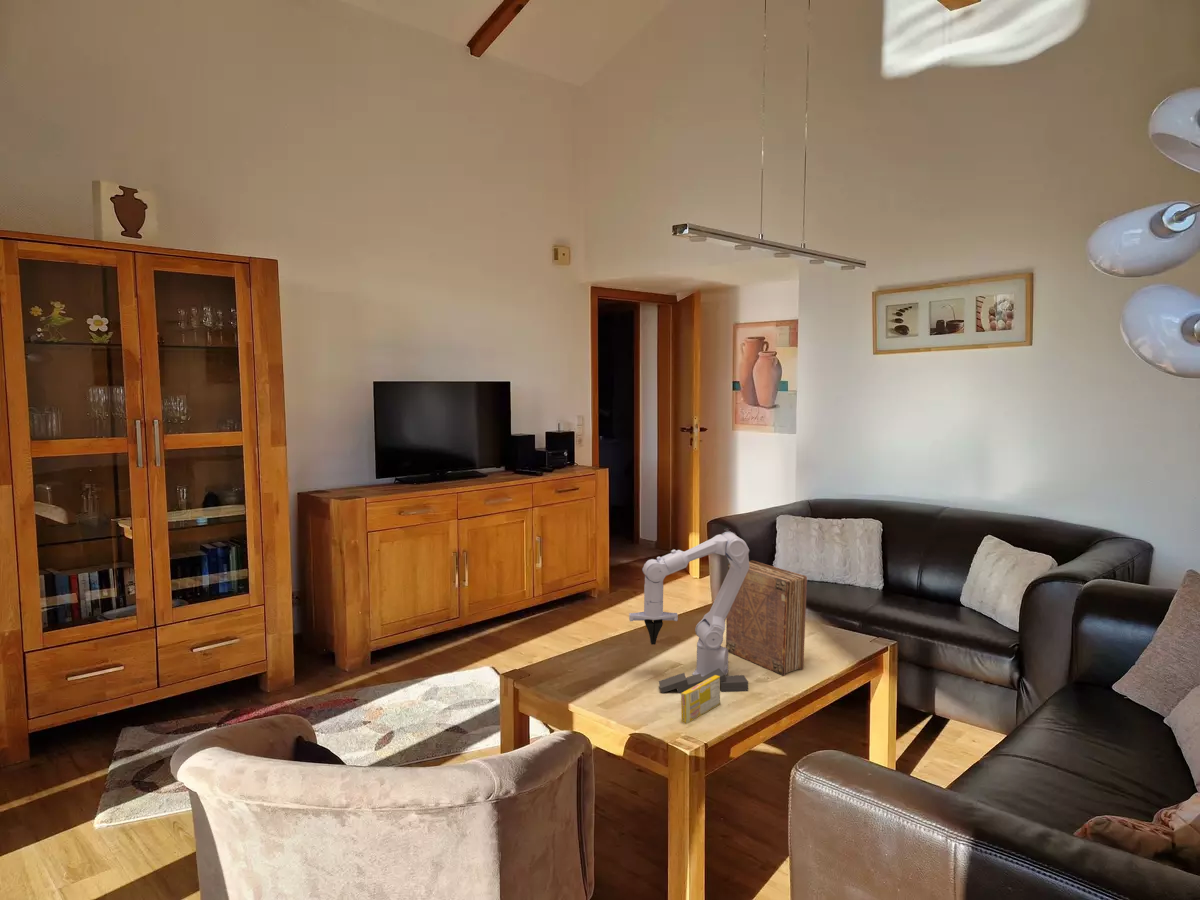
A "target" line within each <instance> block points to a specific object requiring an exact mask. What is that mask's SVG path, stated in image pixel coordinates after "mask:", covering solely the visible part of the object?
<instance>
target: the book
mask: <svg viewBox="0 0 1200 900" xmlns="http://www.w3.org/2000/svg"><path fill="white" fill-rule="evenodd" d="M730 566H731V565H730V563H729V562H728V563H727V572H728V571H729V569H730ZM807 582H808V577H807V575H804V574H800V573H797V572H794V571H790V570H787V569H782V568H780V567H776V566H773V565H769V564H765V563H763V562H759V561H756V560H751V559H749V570H748V572H747V574H746V576H745V578H744V581H743V583H742V585H741V587H740V589H739V591H738V593H737V596H736V598H735V600H734V602H733V604H732V606H731V608H730V611H729V613H728V615H727V617H726V623H725V630H726V631H725V632H726V633H725V636H726V637H725V648H728V654H729V653H730V654H732V655H734V656H736V657H739V658H741V659H743V660H745V661H748V662H750V663H752V664H754V665H756V666H760V667H761V668H763V669H766V670H768V671H770V672H772V673H775V674H777V675H779V676H782V677H785V675H786V673H790V672H793V671H797V670H801V671H802V670H804V666H805V665H804V664H805V662H804V661H805V639H806V638H805V637H806V615H807V614H806V612H807V610H806V608H807V585H808V583H807Z"/></svg>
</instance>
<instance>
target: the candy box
mask: <svg viewBox="0 0 1200 900" xmlns="http://www.w3.org/2000/svg"><path fill="white" fill-rule="evenodd" d="M680 695H681V698H680V699H681V700H680V702H681V707H680V708H681V710H680V711H681V719H680V720H681V722H682V723H684V724H688V723H690V722H692V721H693V720H695V719H697V718H699V717H701V716H702V715H704V714H706V713H707V712H709V711H711V710H712V709H714V708H716V707H718V706H719V705H721V691H720V676H717V675H714V676H712V677H710V678H708V679H707V680H705V681H703V682H701V683H699V684H697V685H695V686H694V687H692V688H690V689H688V690H686V691H684V692H681V693H680Z"/></svg>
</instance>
